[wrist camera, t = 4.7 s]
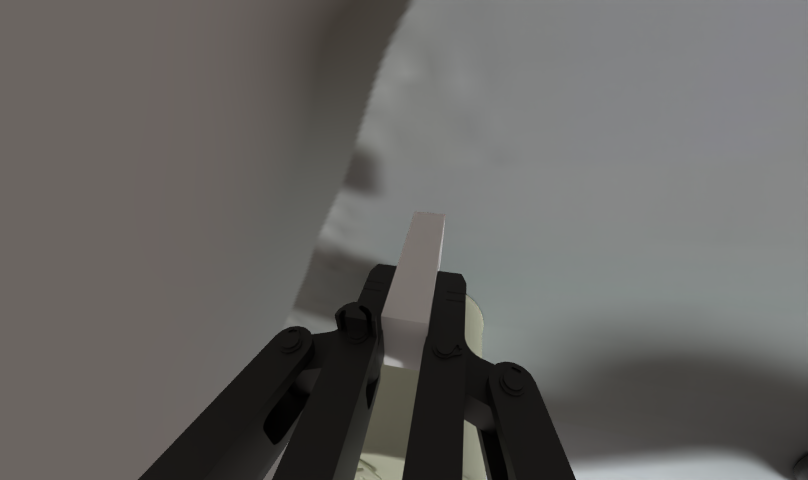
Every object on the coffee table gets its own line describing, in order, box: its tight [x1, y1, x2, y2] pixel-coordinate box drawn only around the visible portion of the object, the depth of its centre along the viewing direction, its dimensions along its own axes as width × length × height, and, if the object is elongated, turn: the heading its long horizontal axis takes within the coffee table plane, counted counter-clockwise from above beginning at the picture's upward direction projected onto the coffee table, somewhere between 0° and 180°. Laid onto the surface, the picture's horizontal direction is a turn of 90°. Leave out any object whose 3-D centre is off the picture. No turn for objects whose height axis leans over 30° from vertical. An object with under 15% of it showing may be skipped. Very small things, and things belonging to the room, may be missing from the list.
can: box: [354, 295, 486, 480], centre depth 20 cm, size 9×9×12 cm
